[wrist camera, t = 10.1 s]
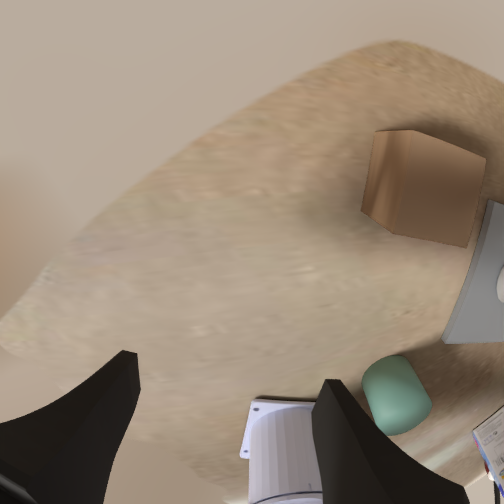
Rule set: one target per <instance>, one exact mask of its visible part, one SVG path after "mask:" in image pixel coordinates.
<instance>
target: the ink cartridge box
mask: <svg viewBox="0 0 504 504" xmlns="http://www.w3.org/2000/svg"><path fill="white" fill-rule="evenodd" d="M473 437H474V442H475V443H476V445H477V447H478V449H479V451H480V453H481V455H482V457H483V459H484V461H485V463H486V464H487V466H488V468H489V470H490V472H491V474H492V477H493V478H494V480H495V482H496V484H497V486H498V488H499V490H500V492H501V494H502V496H503V497H504V406H503V407H502V408H501V409H500V410H499V411H497V412H496V413H495V414H494V415H492V416H491V417H490V418H489V419H487V420H486V421H485V422H484V423H482V424H481V425H480V426H478V427H477V428H476V429H474V430H473Z"/></svg>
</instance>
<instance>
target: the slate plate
mask: <svg viewBox="0 0 504 504" xmlns="http://www.w3.org/2000/svg"><path fill="white" fill-rule="evenodd" d="M503 265H504V205H503V204H500V203H498V202H495V201H492V200H490V199H488V203H487V207H486V212H485V216H484V220H483V224H482V228H481V231H480V235H479V238H478V242H477V245H476V249H475V252H474V255H473V258H472V262H471V265H470V268H469V271H468V273H467V276H466V279H465V282H464V285H463V287H462V290H461V293H460V295H459V298H458V300H457V303H456V305H455V308H454V310H453V313H452V315H451V317H450V320H449V322H448V324H447V327H446V329H445V331H444V333H443V335H442V338H441V339H442V341H443V342H444V343H445V344H463V343H488V342H504V303H502V302H501V301H500V300H499V299H498V294H497V288H496V285H497V278H498V275H499V273H500V270H501V268H502V267H503Z"/></svg>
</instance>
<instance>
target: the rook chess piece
mask: <svg viewBox="0 0 504 504" xmlns="http://www.w3.org/2000/svg"><path fill="white" fill-rule="evenodd" d="M496 288H497V294H498V299H499V300H500V301H501V302H502V303H504V265H503V267H502V268H501V270H500V273H499V275H498V278H497V285H496Z"/></svg>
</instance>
